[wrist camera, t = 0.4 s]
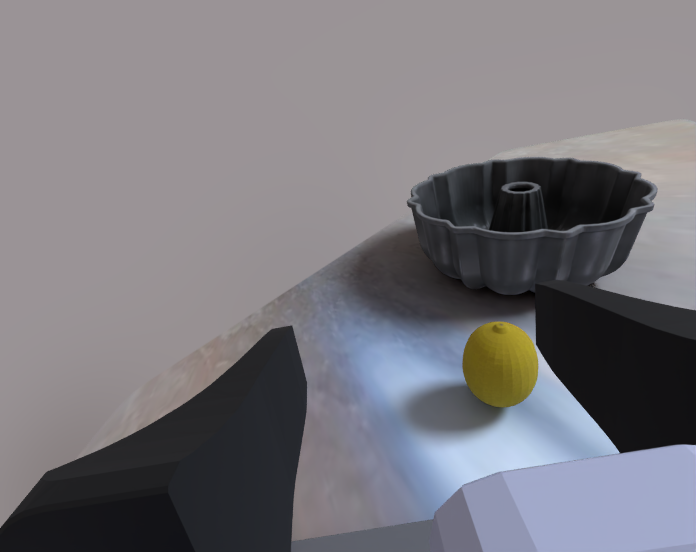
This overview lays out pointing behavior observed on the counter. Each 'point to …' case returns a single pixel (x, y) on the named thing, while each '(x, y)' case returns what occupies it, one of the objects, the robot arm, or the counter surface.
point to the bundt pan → (530, 221)
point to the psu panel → (372, 540)
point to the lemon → (500, 364)
